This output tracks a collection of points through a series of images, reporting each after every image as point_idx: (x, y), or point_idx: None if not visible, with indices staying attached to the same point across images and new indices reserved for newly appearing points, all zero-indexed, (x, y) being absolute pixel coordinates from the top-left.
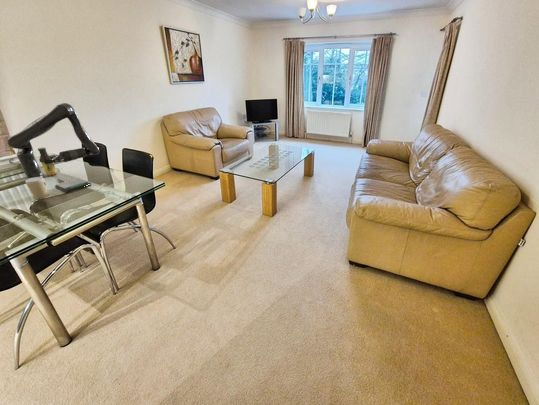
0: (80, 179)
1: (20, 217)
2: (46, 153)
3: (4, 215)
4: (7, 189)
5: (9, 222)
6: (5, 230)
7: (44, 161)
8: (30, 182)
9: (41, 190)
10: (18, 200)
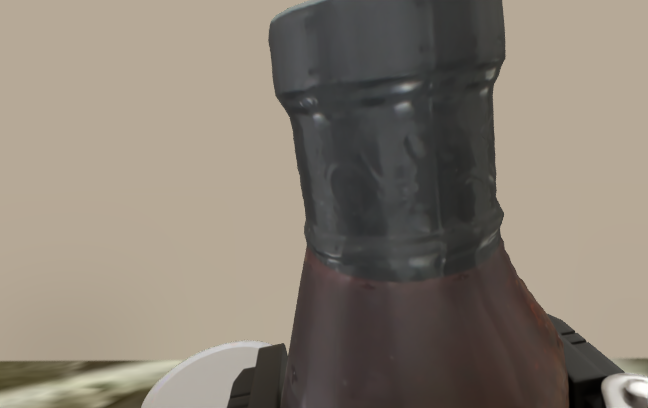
0: None
1: (73, 399)
2: (330, 237)
3: (176, 360)
4: (630, 369)
5: (84, 371)
6: (39, 362)
7: (262, 353)
8: (184, 365)
9: None
10: None
